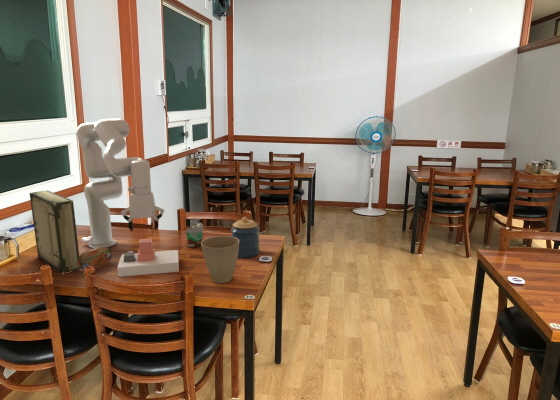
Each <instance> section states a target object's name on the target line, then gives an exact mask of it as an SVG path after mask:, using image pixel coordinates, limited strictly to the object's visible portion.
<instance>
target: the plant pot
mask: <svg viewBox="0 0 560 400" xmlns="http://www.w3.org/2000/svg"><path fill="white" fill-rule="evenodd" d="M231 236H232V235H231ZM231 236H230V235H229V236H228V235H216V236H211V237H207V238H204V239H202V242H201V246H200V247H201V250H202V254H203V258H204V262H205V264H206V268H207V271H208V272H209V275H210V277H211V279H212V282H213V283H216V284H226V283H229V282H230V281H232V279H233V275H234V272H235V269H236V266H237V261H238V258H239V257H238V250H239V239H237V238H235V237H231Z"/></svg>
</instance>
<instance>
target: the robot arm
mask: <svg viewBox="0 0 560 400" xmlns="http://www.w3.org/2000/svg"><path fill="white" fill-rule="evenodd" d="M129 134H130V126H129V123H128V122H127V121H126V120H125V119H123V118H104V119H103V118H102V119H100V120H97V121H95V122H94V121H93V122H85V123H81V124H80V125H78V127H77V129H76V136H77V137H76V138H77V140H78V143H79V145H80V147H81V150H82V156H83V157H82V158H83V167H84V172H85V175H86V177H87V178H88V179H90V180H97V179H106V178H108V179H106V180H98V181H91V182H89V183H87V184H85V186H84V188H83V193H84V196H85V200H86V203H87V209H88V218H89V219H88V220H89V229H90V236H87V237H82V238H81V242H83V243H88V247H89V248H91V249H95V248H98V247H108V248H109V247H112V246H114V245H116V243H117V240H116V239H113V233H112V224H111V223H112V222H111V213H110V208H109V205H107V204H106V203H105V201H108V200H114V199H119V198H121V197H122V196H123V195H122V194H123V181H122V180H123V179H122V178H123V177H130V180H131V182H130V184H131V187H127V191H128V192H131V193H130V194H129V206H128V207H127V208H124V209H122V210H121V211H120V214H121V216H122V217H123V219H125V220H126V222H128V229H129V230H130V232H133V231H134V222H133V219H149V218H150V219H151V218H153V220H154V222H153V223H154V224H153V225H154V231H157V229H158V228H159V220H160V219H161V218H162V217H163V215H164V213H165V209H164V208H162V207H159V206H157V205H156V202H155V196H154V193H153V192H152V184H151V183H152V182H151V165H150V162H149V160H146V159H143V158H142V157H139V156H132V157H121V158H115V156H116V155H118V154H120V153H122V152H123V150H125V148H126V146H127V141H126V140H125V138H127V137H128V136H129ZM97 141H98V142H99V141H101V143H102V144H103V146H104V147H105V148H104V152H103V150H102V147H101V146H100V145H99V143H98V142H97ZM156 211H158V212H159V214H158V215H157V214H156ZM127 213H129V216H128V215H127Z"/></svg>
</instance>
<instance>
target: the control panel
mask: <svg viewBox="0 0 560 400" xmlns="http://www.w3.org/2000/svg"><path fill="white" fill-rule="evenodd" d="M29 199H30V208H31V215H32V221H33V228H34V229H33V230H34V236H35V238H34V239H35V246H36V249H37V250H36V251H37V258H39V259H40V260H42V261H43V262H44V263H45V264H47V265H48V264H49V266H50V267H51V268H53V269H54V268H55V269H56V270H55V269H54V270H55V271H57V270H58V271H59V272H61V273H66V272H70V271H74V272H77V271H76V270H78V271H82V269H80V268H79V266H78V258H79V256H80V252H79V251H80V250H79V241H78V234H77V233H78V232H77V224H76V214H75V205H74V200H73V199H70V198H68V197H65V196H63V195H60V194H57V193H55V192H53V191H51V190H40V191H35V192H29ZM58 271H57V272H58ZM59 272H58V273H59ZM61 273H60V274H61ZM70 273H71V272H70ZM66 274H67V273H66Z"/></svg>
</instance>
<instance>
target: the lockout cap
mask: <svg viewBox="0 0 560 400" xmlns="http://www.w3.org/2000/svg"><path fill="white" fill-rule="evenodd" d="M155 252H156V248H154V247H153V239H152V238H139V240H138V250H137V253H138V254H137V259H138V262H143V261H155Z"/></svg>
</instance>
